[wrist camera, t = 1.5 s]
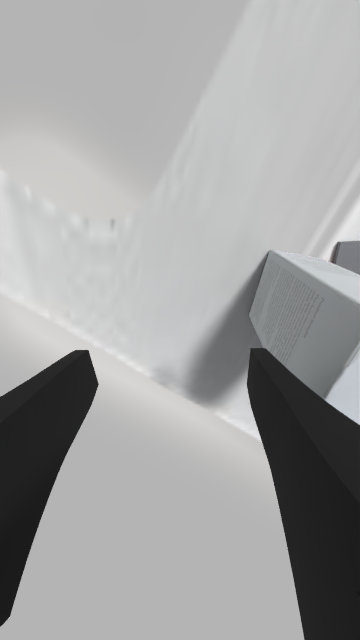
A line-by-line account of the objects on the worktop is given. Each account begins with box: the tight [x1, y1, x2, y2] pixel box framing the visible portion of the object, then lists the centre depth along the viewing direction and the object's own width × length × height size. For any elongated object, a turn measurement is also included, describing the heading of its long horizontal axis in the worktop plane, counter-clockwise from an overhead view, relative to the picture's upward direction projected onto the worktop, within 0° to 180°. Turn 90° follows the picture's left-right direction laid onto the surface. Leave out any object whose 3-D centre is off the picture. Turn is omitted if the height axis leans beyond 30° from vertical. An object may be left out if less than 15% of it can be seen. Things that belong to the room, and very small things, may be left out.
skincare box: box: [249, 250, 360, 425], centre depth 14 cm, size 6×4×12 cm
